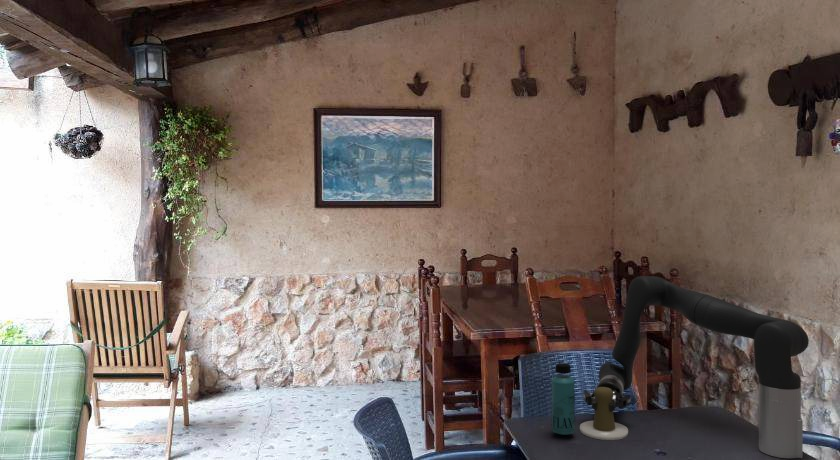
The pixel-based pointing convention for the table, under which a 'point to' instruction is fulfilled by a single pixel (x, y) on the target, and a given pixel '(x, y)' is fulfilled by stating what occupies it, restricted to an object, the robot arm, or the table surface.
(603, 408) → the cork
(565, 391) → the beverage bottle
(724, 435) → the table surface
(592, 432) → the saucer
